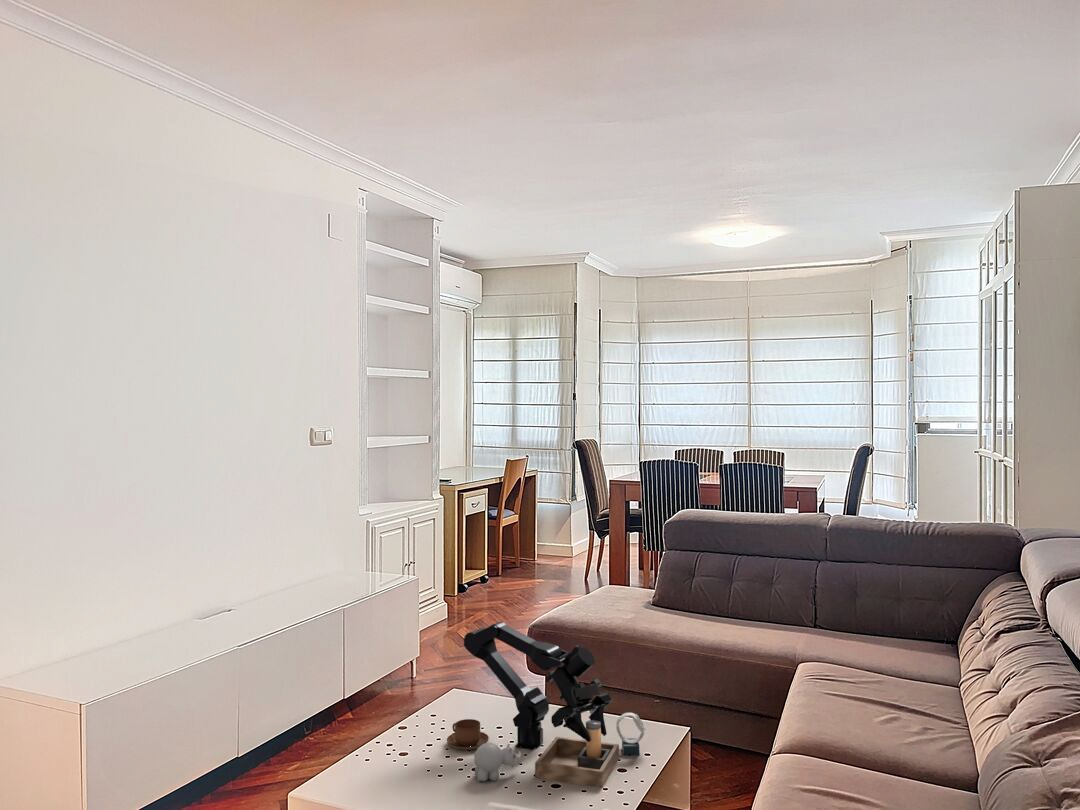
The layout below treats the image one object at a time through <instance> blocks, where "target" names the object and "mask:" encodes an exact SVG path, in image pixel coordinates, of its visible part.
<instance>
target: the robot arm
mask: <svg viewBox="0 0 1080 810" xmlns="http://www.w3.org/2000/svg"><path fill="white" fill-rule="evenodd" d="M495 639H497V641H498V640H499V641H500V642H502V643H504V644H505V645H508V646H509V647H511V648H513V649H515V650H517V651H519V652H521V653H522V654H524V655H526V656H527V657H529V660H531V663H532V664H534V665H535V666H536V667H538V668H539V669H540V670H542V671H548V670H549V671H548V672H547V676H546V682H547V683H548V682H554V684H555V685H556V687H557V689H558V690H559V693H560V694H561V695H560V696H559V698H560V701H564V702H565V704H566V705H564V706H562V707H559V708H558V709H557V710H556V711H555V712H554V713H553V714H552V715H551V719H550V721H551V724H552V726H553V728H558V727H561V726H562V727H563V728H567V729H568V730H570V731H572V732H574V733H575V734H577V735H578V736H579V737H581V738H582V740H586V741H587V742H590V741H591V738H590V736H589V734H588V732H587V730H586V725H585V724H584V722H583V720H582V714H583V713H586V712H589V713H590V715H589V716H588V718H589V721H590V720H597V721H600V722H601V736H603V737H605V736H607V732H608V731H607V728H606V723H605V719H604V710H605V709H606V708H607V707H608V705H609V704H611V703H612V702H613V699H612V697H611V695H610V694H609V693H607V692H603V693H601V692H600V691H602V690H603V689H604V687H603V684H602V681H600V679H599V678H595V679H593V680H591V681H590V683H589V685H586V686H585V684H584V683H583V682H579V681H578V679H577V678H581V677H582V676H583V675H585V674H586V672H588V671H589V670H590V669H591V668H592V667H593V665H595V663H596V659H595V657H594V655H593V653H592V652H591V651H589V650H588V649H586V648H584V647H582V646H581V644H578V645H575V646H574V648H573V649H572V650H571V651H570V652H569V651H566V650H563V649H562V648H561V647H559V646H558V645H556V644H554V643H553V644H552V643H550V642H545V641H538V640H535V639H534V638H531V637H530V636H528V635H526V634H525V633H522V632H520V631H518V630H517V629H515V628H513V627H511V626H509V625H507V624H506V623H505V621H504V622H503V621H498V622H496V623H492V624H491V625H490V626H488V627H480V628H477V629H475V630H472V631H469V632H467V633H466V634H465V635H464V638H463V647H464V648H465V649H466V650H467V651H468V652H469V653H470V654H471V655H472V656H473V657H475V658H477V659H479V660H481V661H483V662H484V663H485V664H486V665H487V667H488V668H489V669H490V670H491V672H492V673H493V674H494V675H495V676H496V678H497V679H498V680H499V681H500V682H501V684H502V685H503V686H504V687H505V689H506V690H507V691H508V692H509V693H510V694H511V696H512V698H514V700H515V701H514V702H515V707H516V709H517V712H518V713H517V714H516V715H515V716H514V717H513V718H512V721H513V722H512V723H513V726H514V727H516V728H517V731H516V732H517V743H516V744H515V748H519V749H524V750H525V749H526V750H534V749H538V747H540V746H541V745H542V744H543V743H544V728H543V727H542V721H543V720H544V719H545V716H546V715H548V713H549V710H550V703H549V700H547V697H548V696H546V695H544V693H543V692H542V691H541V689H540V688H539V687H538V686H536V687H534V688H531V687H529V686H527V683H525V682H524V681H523V680H522V678H521V677H520V676H519V675H518V673H517V672H516V671H515V670H514V668H513V667H512V666H511V665H510V664H509V663H508V661H507V660H506V659H505V658H504V656H502V654H501V653H500V652H499V650H498V649H497V645H496V641H495ZM553 668H554V670H551V669H553ZM550 670H551V671H550ZM576 677H577V678H576Z"/></svg>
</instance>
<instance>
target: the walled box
mask: <svg viewBox="0 0 1080 810" xmlns="http://www.w3.org/2000/svg"><path fill="white" fill-rule="evenodd" d="M601 757H602V759H600V758H592V757H587V753H586V740H585V739H577V738H569V737H560V736H555V737H554V739H553V740H552V741H551V743H550V744H549V745H547V748H545V750H544V751H543V752H542V754H541V755H540V756H538V758H537V760H536V761H535V762H534V779H539V780H546V781H555V782H561V783H567V784H575V785H581V786H582V785H583V786H590V787H597V788H603V787H604V786H605V784H606V782H607V781H608V779H609V777H610V776H611V774H612V772H613V770H614V769H615V767H616V765H617V763H618V761H619V760H620V745H619V744H618V743H611V742H610V743H609V742H602V741H601Z"/></svg>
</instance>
